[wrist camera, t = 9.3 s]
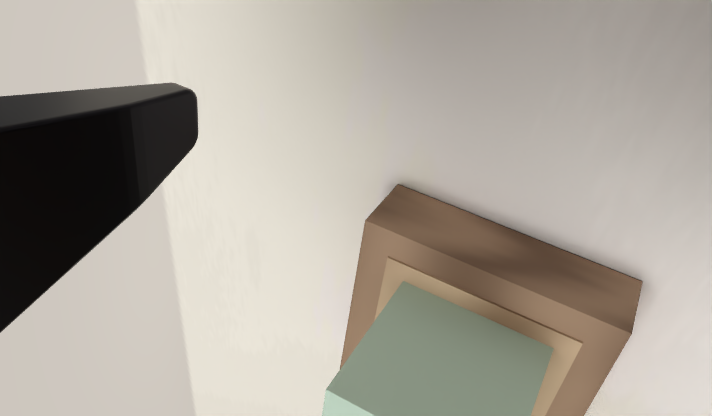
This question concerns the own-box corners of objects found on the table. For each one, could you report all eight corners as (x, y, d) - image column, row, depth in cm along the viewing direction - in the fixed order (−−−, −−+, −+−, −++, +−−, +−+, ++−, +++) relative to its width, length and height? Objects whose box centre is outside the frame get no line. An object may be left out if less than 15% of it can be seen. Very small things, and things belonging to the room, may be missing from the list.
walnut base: (642, 281, 23) (631, 335, 20) (555, 436, 29) (539, 492, 26) (397, 184, 26) (363, 221, 23) (365, 342, 32) (336, 384, 29)
